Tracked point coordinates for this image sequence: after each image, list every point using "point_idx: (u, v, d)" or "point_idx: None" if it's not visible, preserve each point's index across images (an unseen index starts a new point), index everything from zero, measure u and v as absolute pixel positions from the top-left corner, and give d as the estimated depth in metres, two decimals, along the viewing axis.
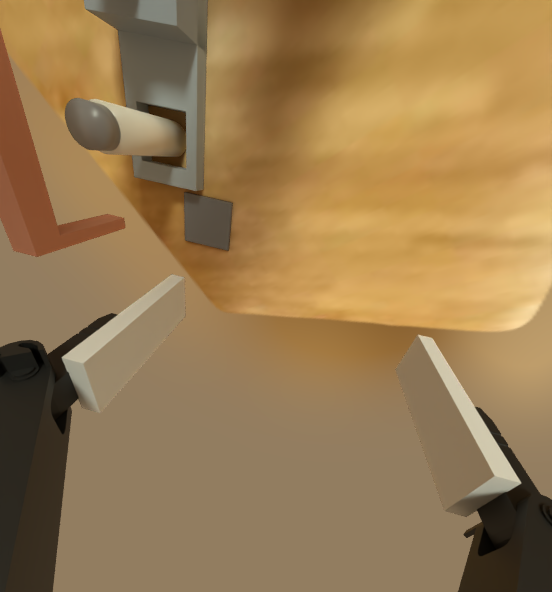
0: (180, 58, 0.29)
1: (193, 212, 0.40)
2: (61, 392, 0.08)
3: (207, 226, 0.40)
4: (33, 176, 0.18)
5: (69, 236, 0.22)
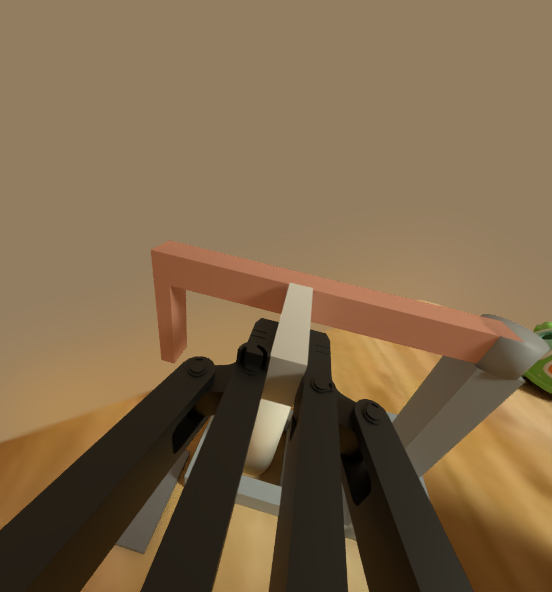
0: None
1: None
2: (264, 384, 0.10)
3: None
4: (236, 293, 0.16)
5: (166, 294, 0.17)
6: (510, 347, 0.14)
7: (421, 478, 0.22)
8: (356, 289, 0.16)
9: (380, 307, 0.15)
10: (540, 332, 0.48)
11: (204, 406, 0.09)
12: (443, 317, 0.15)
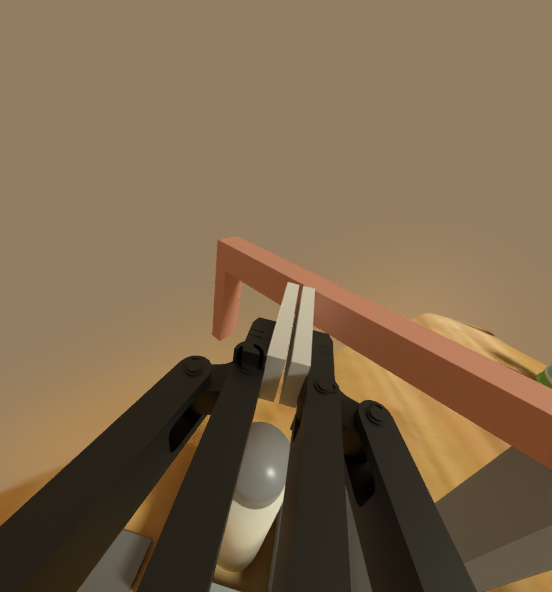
0: None
1: (108, 554, 0.19)
2: (261, 383, 0.10)
3: None
4: (269, 289, 0.18)
5: (222, 278, 0.21)
6: None
7: None
8: (390, 314, 0.14)
9: (406, 339, 0.12)
10: None
11: (201, 405, 0.09)
12: (501, 381, 0.11)
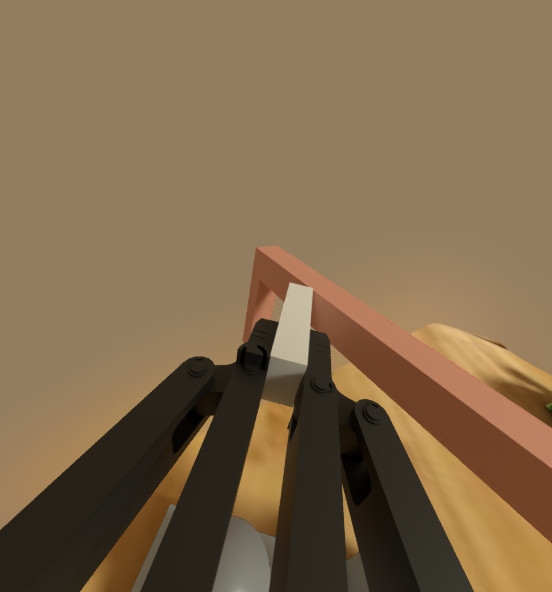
0: None
1: None
2: (264, 384, 0.10)
3: None
4: None
5: (256, 286, 0.21)
6: None
7: None
8: (432, 355, 0.12)
9: (446, 390, 0.10)
10: None
11: (204, 406, 0.09)
12: None
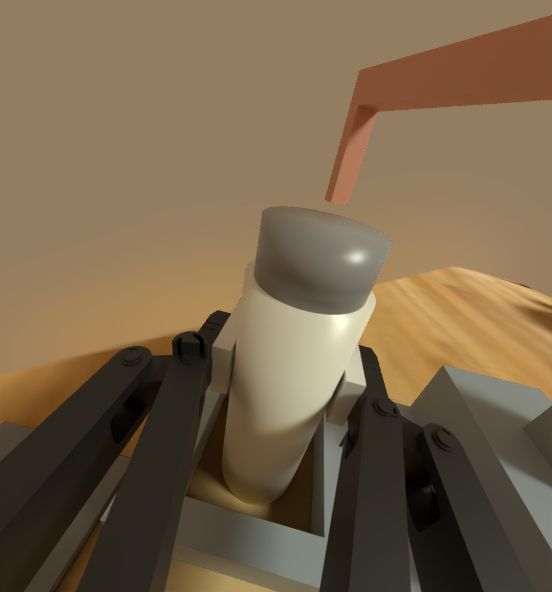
0: None
1: None
2: (207, 375, 0.09)
3: None
4: (406, 86, 0.16)
5: (352, 116, 0.21)
6: None
7: None
8: None
9: None
10: None
11: (145, 394, 0.09)
12: None
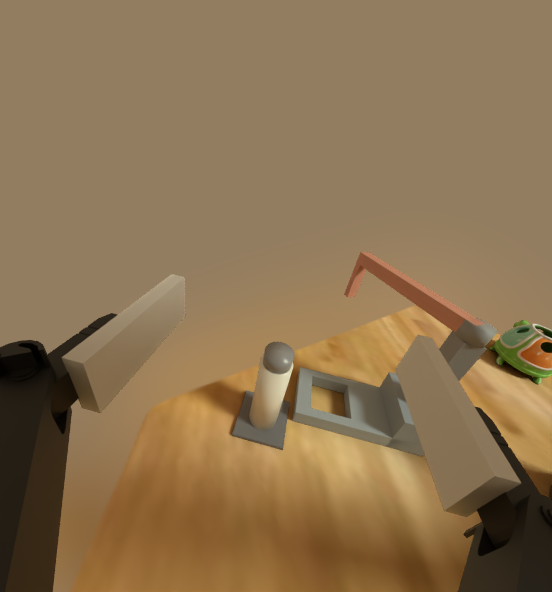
0: (380, 423, 0.40)
1: None
2: (61, 392, 0.08)
3: None
4: (377, 273, 0.46)
5: (357, 268, 0.50)
6: (465, 323, 0.32)
7: None
8: (421, 286, 0.39)
9: (421, 290, 0.38)
10: (516, 328, 0.64)
11: None
12: (447, 305, 0.35)
